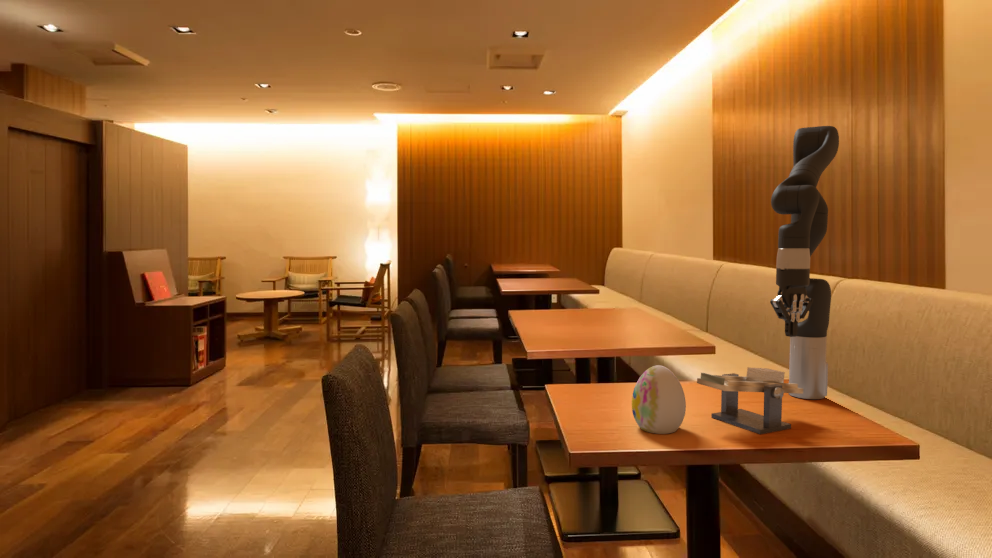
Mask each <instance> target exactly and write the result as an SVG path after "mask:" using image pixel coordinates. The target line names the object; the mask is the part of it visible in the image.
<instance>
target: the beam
mask: <svg viewBox="0 0 992 558" xmlns="http://www.w3.org/2000/svg"><path fill="white" fill-rule="evenodd" d="M722 375H723V374H722ZM722 375H717V374H709V373H706V372H700V377H699V378H698V377H697V379H696V384H697V385H702V386H704V387H705V386H706V387H709V388H712V389H716V390H720V391H721V392H722V391H738V393H741V392H742V393H744V392H746V393H747V392H748V393H763V394H764V386H765V385H772V384H779V385H782V389H783V391H784V394H789V393H799V394H803V390H804V389H803V388H799V387H798V384H793V383H789V382H788V383H787V382H784V383H770V382H746V376H740V375H739V376H722Z"/></svg>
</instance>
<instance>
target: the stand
mask: <svg viewBox="0 0 992 558" xmlns="http://www.w3.org/2000/svg"><path fill="white" fill-rule="evenodd" d="M722 376H740V374H738V373H735V372H734V373H733V372H732V373H724V374H722ZM784 394H785V393H784V391H783V389H782V385H779V384H772V385H765V386H764V393H763V414H759V413H756V412H753V411H749V410H746V409H742V408H739V392H738V391H722V390H721V400H720V401H721V403H720V404H721V405H720V407H721V408H720V411H718V412H712V413H711V418H712V419H715V420H717V421H720V422H723V423H726V424H729V425H733V426H735V427H738V428H740V429H744V430H747V431H750V432H752V433H756V434H758V435H763V434H768V433H769V434H770V433H775V432H779V431H783V430H784V431H785V430H789V429H792V424H791V423H789V422H784V421H783V420H782V415H783V414H782V413H783V397H784Z"/></svg>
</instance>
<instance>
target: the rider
mask: <svg viewBox="0 0 992 558" xmlns="http://www.w3.org/2000/svg"><path fill="white" fill-rule="evenodd" d="M746 369H747V370H746V376H745V377H746V382H770V383H785V382H784V381H785V374H786V372H784V371H781V370H776V369H772V368H762V367H749V366H748V367H747V368H746Z"/></svg>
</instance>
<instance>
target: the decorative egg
mask: <svg viewBox="0 0 992 558" xmlns="http://www.w3.org/2000/svg"><path fill="white" fill-rule="evenodd" d="M686 401H687V400H686V396H685V392H684V388H683V386H682V384H681V381H680V380H679V378H678V377H677V376H676V375H675V373H674V372H673V371H671V369H669V368H668V367H666V366H663V365H660V364H658V365H657V364H656V365H652V366H650V367H649V368H647V369H646V370H645V371H643V373H642V374H641V375H640V376H639V378H638V380H637V382H636V383H635V386H634V388H633V393H632V396H631V411H632V415H633V418H634V421H635V423H636V425H637V426H638V427H639V429H641V430H642V431H644V432H646V433H650V434H658V435H667V434H672V433H675V432H676V431H678V429H679V428H680V427H681V425H682V424H683V421H684V418H685V415H686V408H687V406H686V405H687V402H686Z"/></svg>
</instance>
